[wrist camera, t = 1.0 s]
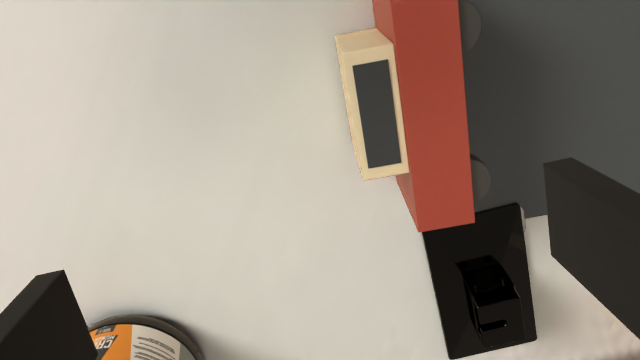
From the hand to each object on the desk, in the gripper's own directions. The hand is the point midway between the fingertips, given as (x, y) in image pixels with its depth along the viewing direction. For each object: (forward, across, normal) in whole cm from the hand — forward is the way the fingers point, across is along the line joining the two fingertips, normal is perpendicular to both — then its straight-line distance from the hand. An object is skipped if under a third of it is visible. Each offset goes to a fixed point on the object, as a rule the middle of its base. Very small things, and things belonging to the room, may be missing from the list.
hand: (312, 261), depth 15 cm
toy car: (+21, +7, 0) cm, 22 cm away
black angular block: (+22, +10, -16) cm, 29 cm away
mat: (+21, +17, -1) cm, 27 cm away
